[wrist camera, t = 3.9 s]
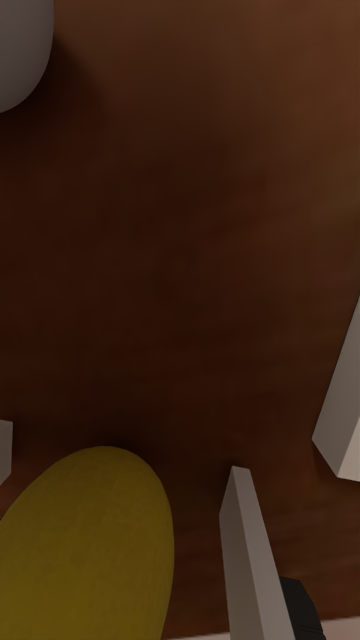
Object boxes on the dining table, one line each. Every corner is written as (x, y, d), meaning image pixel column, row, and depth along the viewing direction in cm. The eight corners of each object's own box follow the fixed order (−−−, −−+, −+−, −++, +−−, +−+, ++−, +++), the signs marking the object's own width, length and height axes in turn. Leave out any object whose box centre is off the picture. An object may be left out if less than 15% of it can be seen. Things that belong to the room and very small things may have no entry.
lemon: (157, 392, 11) (63, 717, 3) (195, 496, 12) (198, 941, 4) (43, 423, 12) (-277, 757, 4) (88, 519, 13) (-87, 943, 5)
